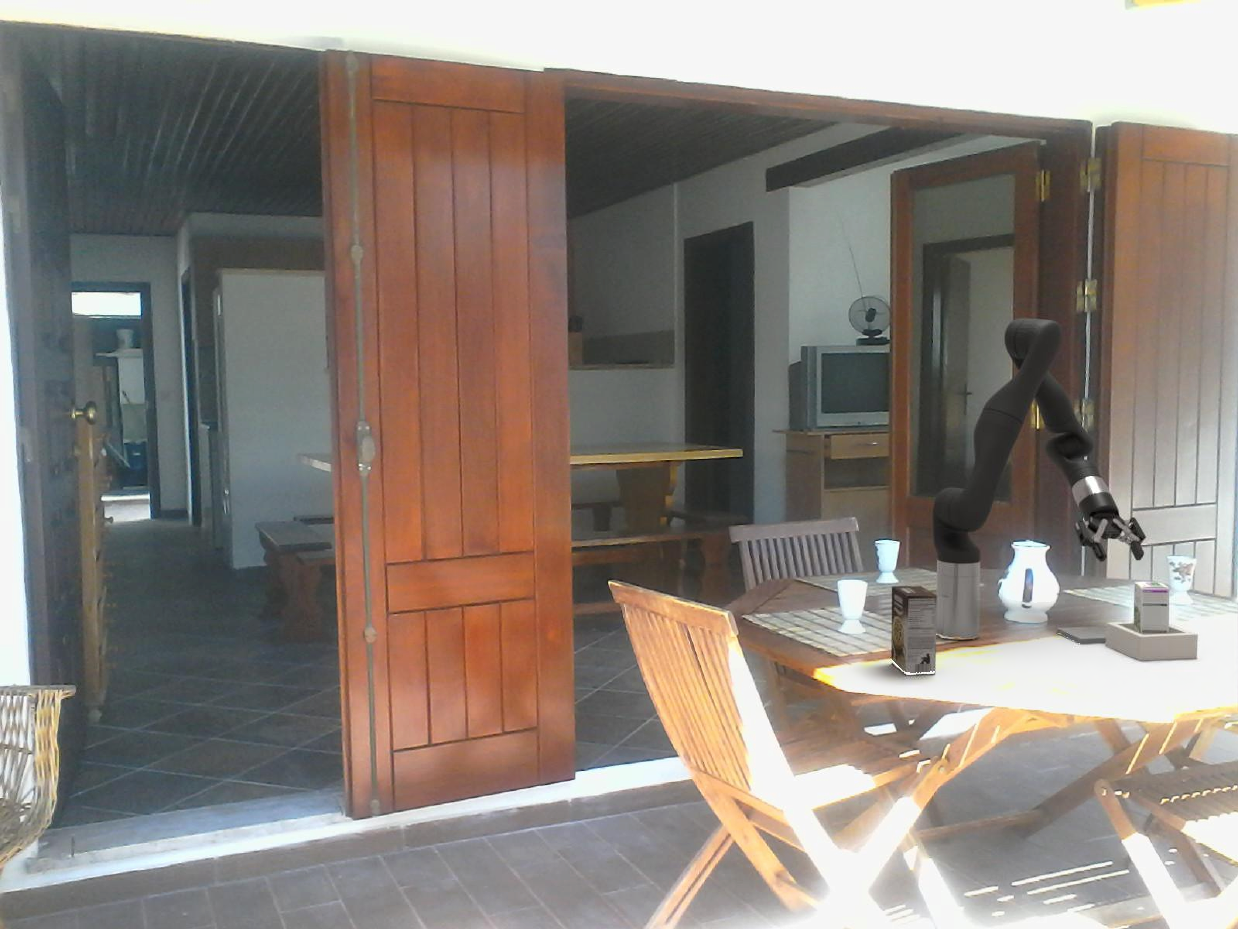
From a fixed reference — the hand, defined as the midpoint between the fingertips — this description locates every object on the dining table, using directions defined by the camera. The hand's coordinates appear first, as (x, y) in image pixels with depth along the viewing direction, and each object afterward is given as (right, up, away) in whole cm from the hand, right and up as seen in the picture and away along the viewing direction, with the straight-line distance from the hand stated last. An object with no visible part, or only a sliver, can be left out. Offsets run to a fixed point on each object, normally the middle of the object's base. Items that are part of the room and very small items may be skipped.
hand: (1122, 559), depth 238 cm
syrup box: (+2, -19, -9) cm, 21 cm away
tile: (-6, -18, +3) cm, 19 cm away
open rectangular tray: (+2, -19, -9) cm, 21 cm away
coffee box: (-52, -21, -21) cm, 59 cm away
